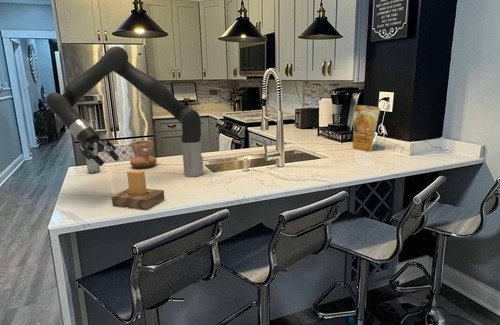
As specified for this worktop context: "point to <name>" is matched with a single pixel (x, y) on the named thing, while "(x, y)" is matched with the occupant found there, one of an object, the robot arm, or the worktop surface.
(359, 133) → the pancake mix bag
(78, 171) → the worktop surface
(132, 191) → the tan rectangular block
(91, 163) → the bottle
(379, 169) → the worktop surface
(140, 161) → the reddish brown vase
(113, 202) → the slotted box
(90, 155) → the robot arm
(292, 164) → the worktop surface
